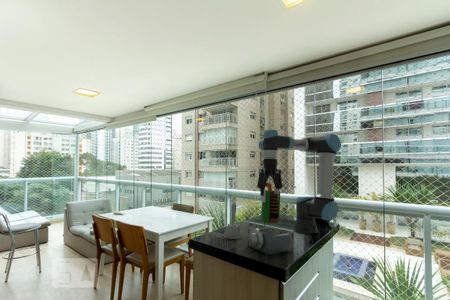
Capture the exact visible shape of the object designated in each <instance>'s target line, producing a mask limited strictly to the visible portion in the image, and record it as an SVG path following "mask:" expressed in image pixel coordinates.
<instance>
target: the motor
mask: <svg viewBox="0 0 450 300" xmlns="http://www.w3.org/2000/svg"><path fill="white" fill-rule="evenodd" d="M266 187H267V189H266V200H265V202H261V212H260V213H261V217H260V220H261V222H263V223H266V224H279V222H280V215H281V214H280V209H281V206H280V205H281V191H280V190H279V194H274V190H273V188H272V184H271V182H267V183H266V186H265V188H266ZM274 196H279V197H274ZM274 199H279V201H277V200H274Z"/></svg>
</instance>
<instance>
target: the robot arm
mask: <svg viewBox="0 0 450 300" xmlns="http://www.w3.org/2000/svg"><path fill="white" fill-rule="evenodd" d="M258 148H259V149H260V150H261V151H263V153H262V154H263V161H262V166H263V168H259V169H258V172H259V173H258V179H257V186H256V187H257V188H258V189H259V190H260V191H259V192H260V193H259V194H260V196H261V197H260V202H261V203H262V202H265V200H266V190H267V189H266V187H265V186H266V183H268V180H269V179H270V177H271V179H272V182H273V186H274V189H273V191H274V194H279V191H280V190H282V188H283V181H282V179H283V178H282V169H278V168H277V167H278V157H279V156H278V152H279V151H299V152H305V153H316V155H317V156H318V171H317V172H318V174H317V190H316V191H317V192H316V194H315V195H314V196H313V195H312V196H298V197H297V198H296V203H295V205H296V206H295V207H296V209H295V211H296V213H295V215H296V216H295V217H296V219H295V222H294V225H293V231H294V232H295V231H296V232H295V233H297V232H299V233H298V234H302V233H304V234H303V235H313V234H312V233H317V232H318V230H319V229H318V228H317V224H316V219H320V220H323V221H333V220H335V218H336V217H337V215H338V213H339V205H338V203H337V202H336V201H335V197H334V196H333V179H334V177H333V175H334V160H335V159H334V158H335V157H336V156H337V152H338V153H339V151H341V148H342V141H341V139H340V137H339V136H338V135H337V134H336V133H326V134H325V133H324V134H318V135H311V136H305V137H304V136H303V137H300V138H293V137H292V136H289V135H285V134H283V135H282V134H279V130H278V129H265V130H264V131H263V137H262V138H261V139H259V142H258ZM274 197H279V196H274ZM274 200H277V201H279V199H274ZM317 234H318V233H317Z"/></svg>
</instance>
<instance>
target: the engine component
mask: <svg viewBox="0 0 450 300" xmlns="http://www.w3.org/2000/svg"><path fill="white" fill-rule="evenodd" d="M230 206H231V208H230V212H231V223H228V224H227V226H225V230H224V237H225V238H226V239H230V240H237V239H241V238H242V230H241V229H242V227H241V225H240V223H236V214H237V201H231V205H230Z"/></svg>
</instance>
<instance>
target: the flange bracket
mask: <svg viewBox="0 0 450 300" xmlns="http://www.w3.org/2000/svg"><path fill="white" fill-rule="evenodd" d="M247 246H248V247H250V248H253V249H254V250H255V251H259V252H261V253H263V254H266V255H267V256H269V255H271V256H272V255H275V254H281V253H284V252H289V251H290V250H291V249H290V233H283V234H282V233H281V234H274V235H272V234H271V228H270V227H268V226H267V227H260V228H257V227H255V228H254V227H248V228H247Z"/></svg>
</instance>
